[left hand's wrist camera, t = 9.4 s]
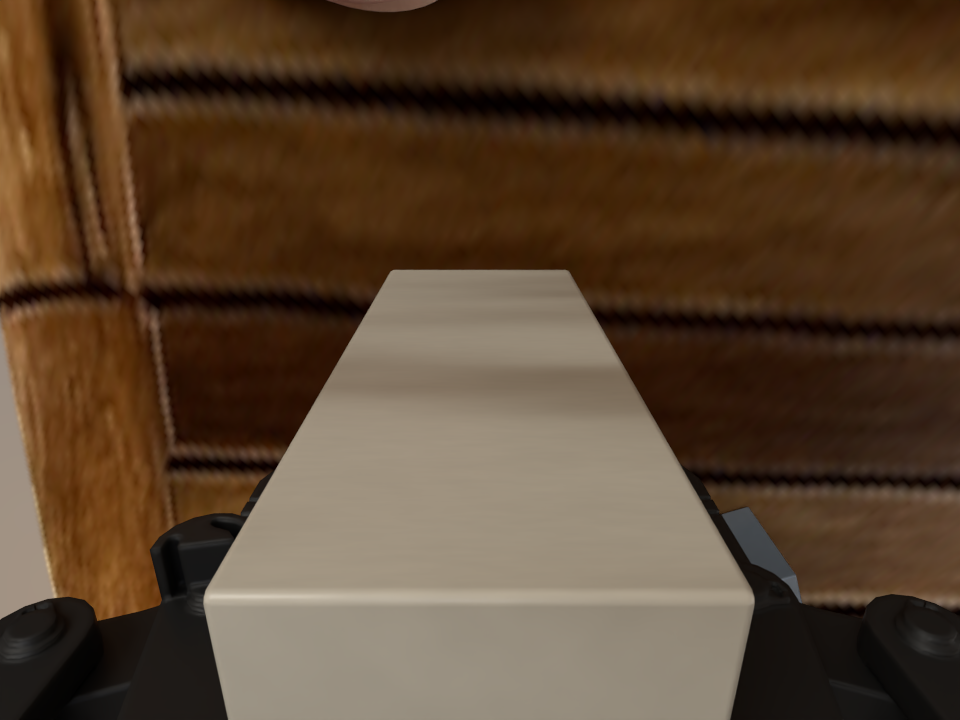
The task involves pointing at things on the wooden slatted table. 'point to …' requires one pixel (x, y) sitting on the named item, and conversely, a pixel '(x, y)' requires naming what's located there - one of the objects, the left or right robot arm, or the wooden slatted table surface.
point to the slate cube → (760, 546)
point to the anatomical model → (384, 4)
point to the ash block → (479, 530)
